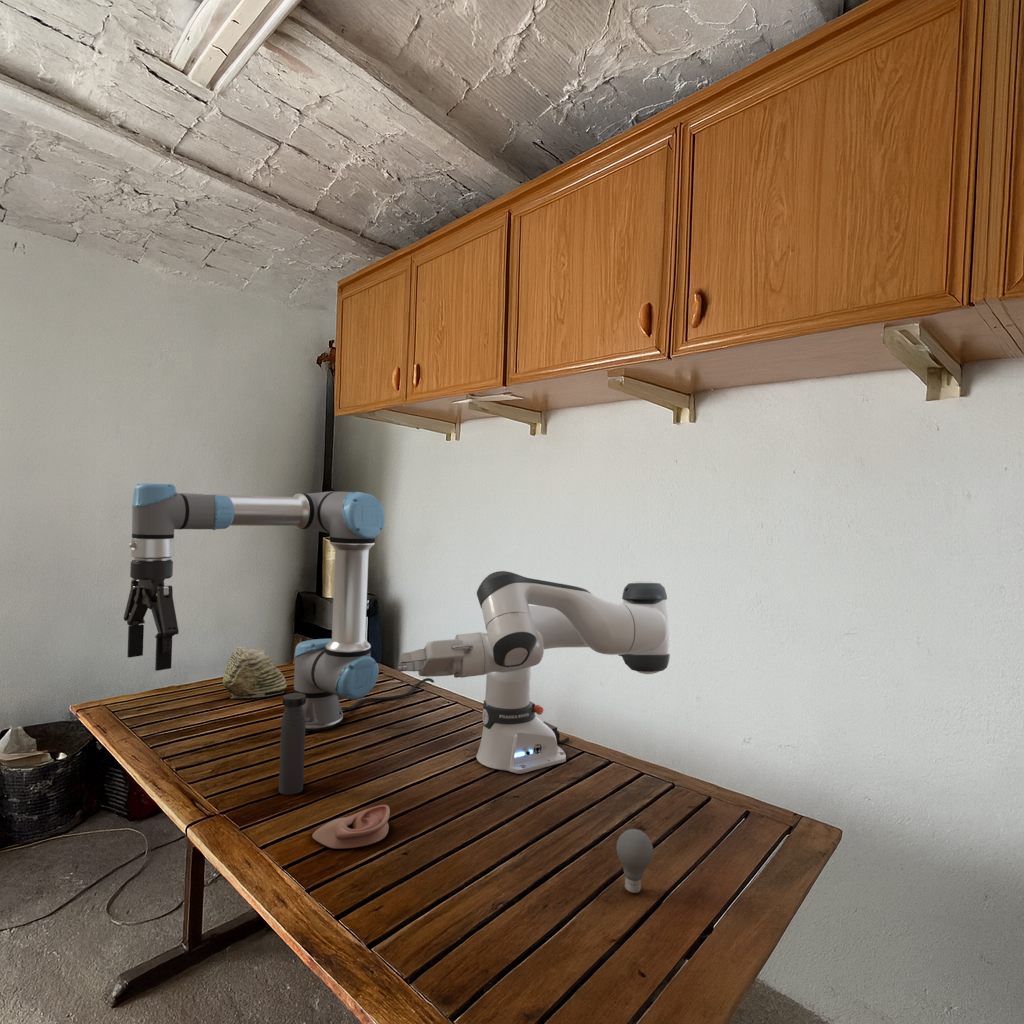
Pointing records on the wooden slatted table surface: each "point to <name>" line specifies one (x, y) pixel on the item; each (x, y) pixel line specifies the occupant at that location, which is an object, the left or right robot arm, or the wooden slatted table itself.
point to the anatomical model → (355, 829)
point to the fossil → (252, 674)
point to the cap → (294, 699)
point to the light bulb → (634, 857)
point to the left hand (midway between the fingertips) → (148, 662)
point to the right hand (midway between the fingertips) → (399, 662)
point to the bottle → (292, 751)
